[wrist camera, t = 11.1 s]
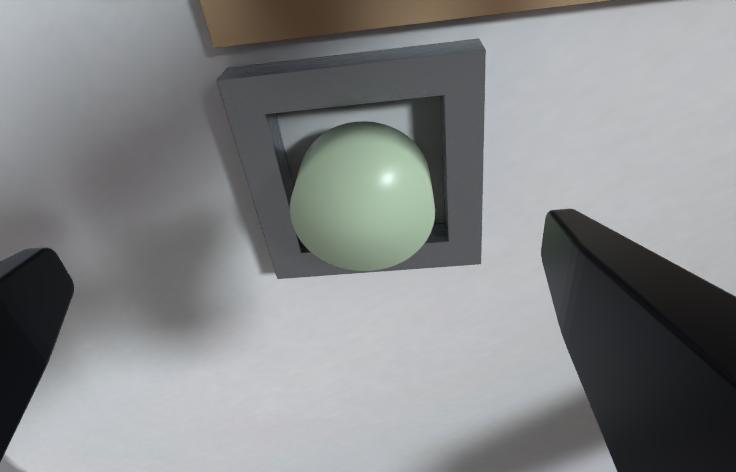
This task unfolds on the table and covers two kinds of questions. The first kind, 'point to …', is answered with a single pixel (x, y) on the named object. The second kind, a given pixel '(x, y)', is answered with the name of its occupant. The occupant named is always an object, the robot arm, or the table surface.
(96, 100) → the table surface
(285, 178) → the button bezel
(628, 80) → the table surface
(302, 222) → the button
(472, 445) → the table surface
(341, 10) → the clipboard
